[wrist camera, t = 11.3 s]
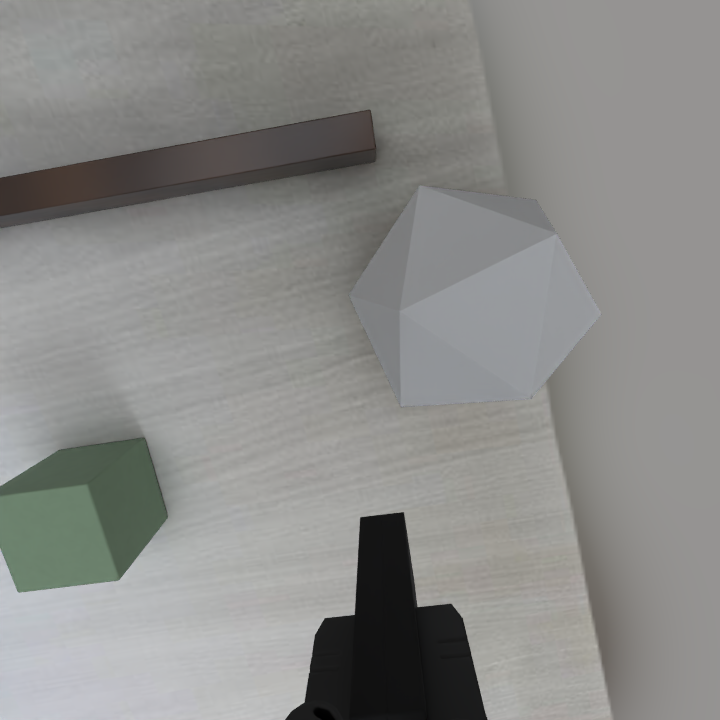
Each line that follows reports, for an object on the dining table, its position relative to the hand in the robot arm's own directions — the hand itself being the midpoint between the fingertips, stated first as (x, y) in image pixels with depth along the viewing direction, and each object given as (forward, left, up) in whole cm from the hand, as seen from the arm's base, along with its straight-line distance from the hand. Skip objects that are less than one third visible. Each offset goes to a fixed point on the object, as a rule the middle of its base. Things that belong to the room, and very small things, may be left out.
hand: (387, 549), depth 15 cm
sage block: (+15, 0, -9) cm, 18 cm away
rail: (+20, -15, -9) cm, 26 cm away
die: (-5, -7, -9) cm, 12 cm away
